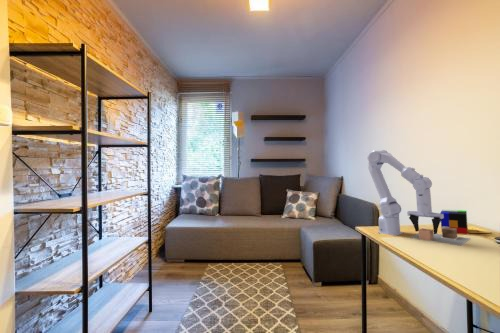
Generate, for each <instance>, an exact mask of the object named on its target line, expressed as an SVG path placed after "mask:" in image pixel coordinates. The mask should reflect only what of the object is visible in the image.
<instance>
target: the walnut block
mask: <svg viewBox="0 0 500 333" xmlns="http://www.w3.org/2000/svg"><path fill="white" fill-rule="evenodd" d="M441 233H442V236H443V238H450V239H455V238H457V237H458V233H457V228H449V227H445V228H443V229H442V230H441Z"/></svg>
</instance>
